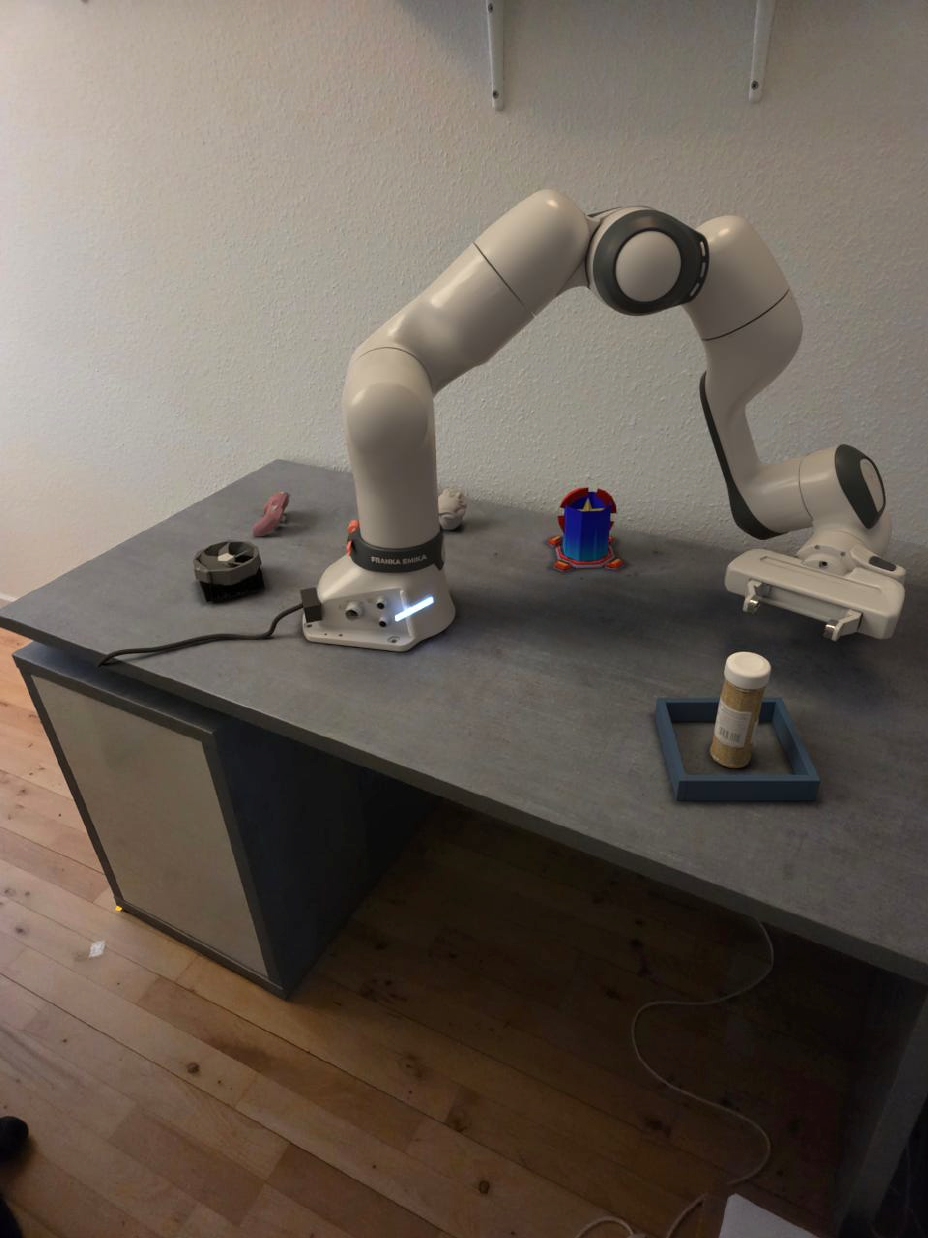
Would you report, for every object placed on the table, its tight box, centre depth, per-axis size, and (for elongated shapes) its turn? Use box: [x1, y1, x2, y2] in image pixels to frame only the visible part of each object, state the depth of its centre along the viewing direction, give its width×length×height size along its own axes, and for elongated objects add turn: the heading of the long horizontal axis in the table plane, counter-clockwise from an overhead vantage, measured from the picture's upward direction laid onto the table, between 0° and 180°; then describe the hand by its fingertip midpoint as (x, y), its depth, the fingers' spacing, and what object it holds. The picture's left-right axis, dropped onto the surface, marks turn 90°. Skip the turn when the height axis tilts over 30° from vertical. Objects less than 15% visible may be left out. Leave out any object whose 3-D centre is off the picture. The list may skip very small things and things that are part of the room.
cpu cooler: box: [192, 539, 266, 604], centre depth 125 cm, size 10×6×10 cm
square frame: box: [654, 696, 821, 801], centre depth 90 cm, size 15×14×3 cm
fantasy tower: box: [546, 486, 626, 574], centre depth 128 cm, size 12×12×12 cm
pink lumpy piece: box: [251, 490, 291, 537], centre depth 142 cm, size 10×5×7 cm, turn 179°
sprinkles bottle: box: [709, 651, 772, 769], centre depth 87 cm, size 5×5×13 cm
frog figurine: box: [438, 488, 468, 531], centre depth 139 cm, size 6×7×7 cm
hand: (788, 620), depth 92 cm, fingers open, 8 cm apart
